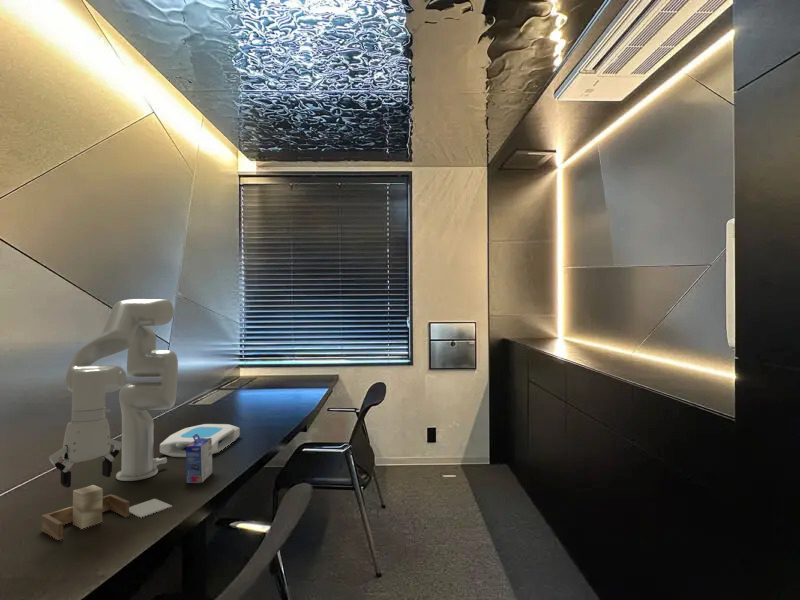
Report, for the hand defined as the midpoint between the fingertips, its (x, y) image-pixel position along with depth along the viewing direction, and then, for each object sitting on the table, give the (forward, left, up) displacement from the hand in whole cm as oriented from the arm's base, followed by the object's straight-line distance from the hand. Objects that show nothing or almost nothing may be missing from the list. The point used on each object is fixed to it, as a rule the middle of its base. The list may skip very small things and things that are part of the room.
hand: (86, 481), depth 127 cm
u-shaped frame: (0, 0, -11) cm, 11 cm away
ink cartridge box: (-37, -6, -12) cm, 40 cm away
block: (0, 0, -11) cm, 11 cm away
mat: (-14, +4, -11) cm, 19 cm away
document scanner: (-60, -38, -12) cm, 73 cm away
